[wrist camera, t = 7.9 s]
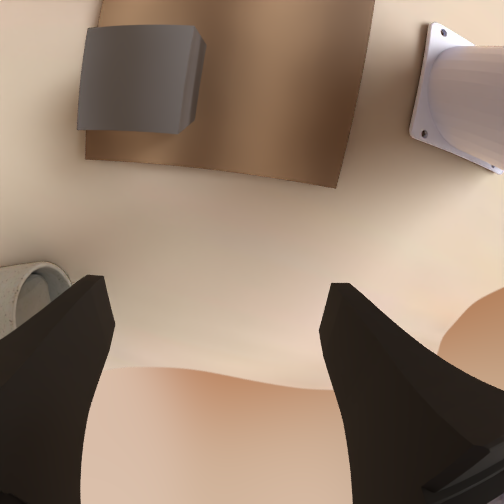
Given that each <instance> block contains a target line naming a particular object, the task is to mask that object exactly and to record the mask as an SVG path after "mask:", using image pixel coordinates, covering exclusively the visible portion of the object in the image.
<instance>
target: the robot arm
mask: <svg viewBox="0 0 504 504" xmlns="http://www.w3.org/2000/svg"><path fill="white" fill-rule="evenodd" d="M441 30H442V31H443V34H444V35H443V36H442V34H441ZM423 130H424V131H425V135H424V136H423V137H422V135H421V133H422V131H423ZM409 134H410V136H411V137H412V138H414V139H416V140H419V141H422V142H425V143H427V144H430V145H433V146H435V147H438V148H440V149H443V150H445V151H448V152H450V153H453V154H455V155H457V156H460V157H462V158H465V159H467V160H469V161H471V162H474V163H476V164H478V165H480V166H482V167H484V168H487V169H489V170H491V171H493V172H495V173H497V174H502V173H503V172H504V46H475V45H474V44H472V43H471V42H469V41H468V40H466V39H464V38H463V37H461V36H460V35H458V34H456V33H455V32H453V31H451V30H450V29H448V28H446V27H444V26H443V25H441V24H439V23H437V22H433V23H430V24H429V26H428V32H427V39H426V46H425V53H424V59H423V65H422V70H421V76H420V81H419V86H418V91H417V96H416V101H415V105H414V110H413V114H412V118H411V123H410V127H409ZM491 165H492V166H491ZM114 327H115V321H114V318H113V314H112V310H111V306H110V302H109V298H108V294H107V289H106V285H105V280H104V276H96V275H86V276H85V277H83V278H82V279H80V280H79V281H77V282H76V283H75V284H73V285H72V286H71V287H70V288H68V289H67V290H66V291H64V292H63V293H62V294H61V295H59V296H58V297H57V298H56V299H54V300H53V301H52V302H51V303H49V304H48V305H47V306H46V307H44V308H43V309H42V310H40V311H39V312H38V313H36V314H35V315H34V316H32V317H31V318H30V319H28V320H27V321H26V322H25V323H23V324H22V325H21V326H19V327H18V328H16V329H15V330H14V331H12V332H11V333H9V334H8V335H6V336H5V337H3V338H2V339H0V504H81V501H80V479H81V461H82V451H83V442H84V434H85V429H86V423H87V418H88V413H89V409H90V406H91V402H92V399H93V396H94V393H95V390H96V387H97V384H98V381H99V378H100V376H101V373H102V370H103V367H104V364H105V361H106V359H107V356H108V353H109V350H110V345H111V341H112V337H113V332H114ZM319 334H320V340H321V346H322V351H323V357H324V360H325V363H326V367H327V370H328V373H329V376H330V379H331V383H332V386H333V389H334V392H335V395H336V398H337V402H338V405H339V408H340V412H341V415H342V419H343V423H344V429H345V435H346V440H347V447H348V455H349V462H350V471H351V482H352V495H353V504H504V391H503V390H501V389H498V388H496V387H494V386H491V385H489V384H487V383H485V382H482V381H480V380H478V379H477V378H475V377H472V376H470V375H469V374H467V373H465V372H463V371H462V370H460V369H458V368H456V367H455V366H453V365H451V364H450V363H448V362H446V361H445V360H443V359H442V358H440V357H439V356H437V355H436V354H434V353H433V352H432V351H430V350H429V349H427V348H426V347H424V346H423V345H422V344H420V343H419V342H418V341H416V340H415V339H414V338H413V337H411V336H410V335H409V334H408V333H406V332H405V331H404V330H403V329H402V328H400V327H399V326H398V325H397V324H396V323H394V322H393V321H392V320H391V319H390V318H389V317H387V316H386V315H385V314H384V313H383V312H382V311H381V310H380V309H378V308H377V307H376V306H375V305H374V304H373V303H372V302H371V301H370V300H368V299H367V298H366V297H365V296H364V295H363V294H362V293H361V292H359V291H358V290H357V289H356V288H355V287H353V286H352V285H351V284H350V283H331V286H330V290H329V294H328V298H327V302H326V306H325V310H324V313H323V317H322V321H321V324H320V328H319Z"/></svg>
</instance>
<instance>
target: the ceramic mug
mask: <svg viewBox="0 0 504 504" xmlns="http://www.w3.org/2000/svg"><path fill="white" fill-rule="evenodd" d="M71 286H72V284H71V281H70V280H69V278H68V276H67V275H66V274H65V272H64V271H63V270H62V269H61V268H59V267H58V266H57V265H55V264H53V263H50V262H43V261H42V262H34V263H27V264H20V265H13V266H7V267H0V339H2V338H3V337H5V336H6V335H8V334H9V333H11V332H12V331H14V330H15V329H16V328H18V327H19V326H21V325H22V324H23V323H25V322H26V321H27V320H28V319H30V318H31V317H32V316H34V315H35V314H36V313H38V312H39V311H40V310H42V309H43V308H44V307H46V306H47V305H48V304H49V303H51V302H52V301H53V300H54V299H56V298H57V297H58V296H59V295H61V294H62V293H63V292H64V291H66V290H67V289H68V288H70V287H71Z"/></svg>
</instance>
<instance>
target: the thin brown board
mask: <svg viewBox="0 0 504 504" xmlns="http://www.w3.org/2000/svg"><path fill="white" fill-rule="evenodd" d="M374 3H375V0H103V3H102V8H101V12H100V17H99V22H98V27H95V28H88V31H87V36H86V42H85V49H84V56H83V63H82V71H81V80H80V91H79V103H78V120H77V130H86V154H85V159H87V160H108V161H125V162H139V163H152V164H164V165H175V166H185V167H194V168H203V169H212V170H220V171H228V172H236V173H243V174H251V175H258V176H264V177H271V178H277V179H284V180H290V181H296V182H302V183H308V184H313V185H319V186H324V187H330V188H335V189H336V186H337V182H338V178H339V174H340V170H341V167H342V163H343V159H344V154H345V150H346V146H347V142H348V138H349V134H350V129H351V125H352V120H353V116H354V111H355V107H356V102H357V98H358V93H359V88H360V83H361V78H362V73H363V68H364V63H365V57H366V52H367V46H368V41H369V35H370V29H371V23H372V16H373V10H374Z"/></svg>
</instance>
